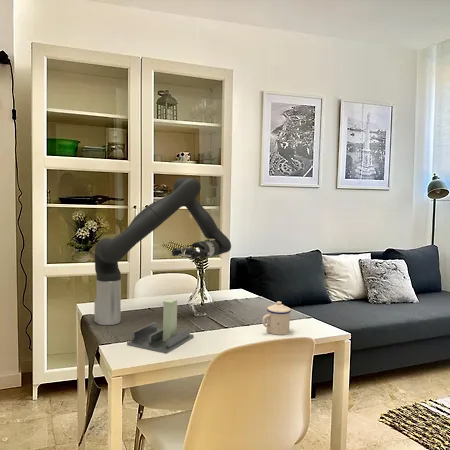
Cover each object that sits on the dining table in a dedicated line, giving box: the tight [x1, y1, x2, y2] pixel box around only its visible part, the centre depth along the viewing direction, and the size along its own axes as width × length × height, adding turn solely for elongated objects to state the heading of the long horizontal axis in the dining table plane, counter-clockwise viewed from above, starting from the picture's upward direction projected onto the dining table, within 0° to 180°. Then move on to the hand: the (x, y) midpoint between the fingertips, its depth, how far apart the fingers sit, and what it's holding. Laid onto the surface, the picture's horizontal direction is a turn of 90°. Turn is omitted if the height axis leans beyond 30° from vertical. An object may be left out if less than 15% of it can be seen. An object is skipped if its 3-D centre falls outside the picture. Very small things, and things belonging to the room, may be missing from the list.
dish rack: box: [126, 321, 195, 354], centre depth 158 cm, size 16×18×4 cm
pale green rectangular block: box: [162, 298, 178, 341], centre depth 156 cm, size 3×4×14 cm
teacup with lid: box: [261, 300, 291, 336], centre depth 171 cm, size 12×9×12 cm
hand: (182, 254), depth 174 cm, fingers open, 8 cm apart
